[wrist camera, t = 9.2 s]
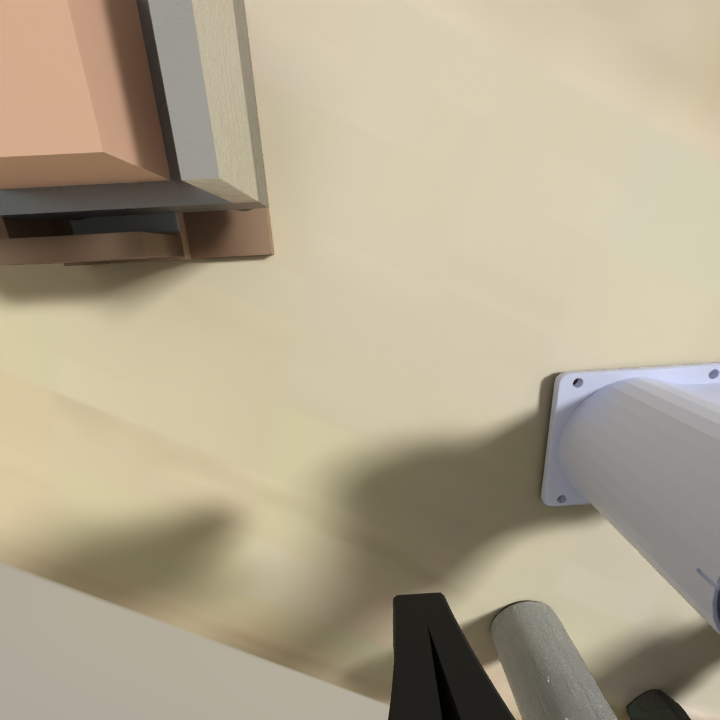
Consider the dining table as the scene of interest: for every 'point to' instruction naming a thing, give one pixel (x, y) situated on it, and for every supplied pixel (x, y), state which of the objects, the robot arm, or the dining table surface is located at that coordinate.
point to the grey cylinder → (545, 666)
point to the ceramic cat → (655, 707)
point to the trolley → (127, 109)
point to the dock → (136, 238)
